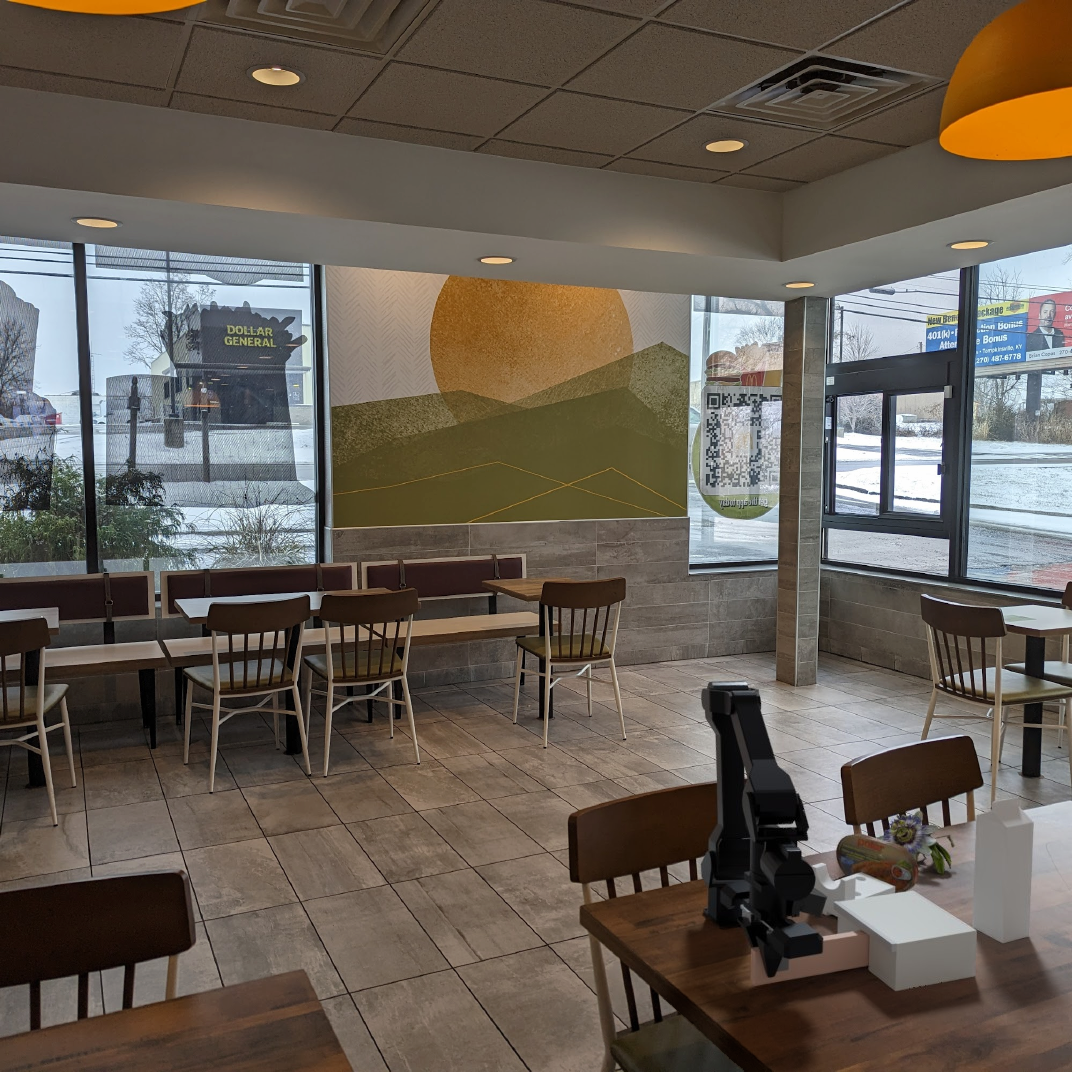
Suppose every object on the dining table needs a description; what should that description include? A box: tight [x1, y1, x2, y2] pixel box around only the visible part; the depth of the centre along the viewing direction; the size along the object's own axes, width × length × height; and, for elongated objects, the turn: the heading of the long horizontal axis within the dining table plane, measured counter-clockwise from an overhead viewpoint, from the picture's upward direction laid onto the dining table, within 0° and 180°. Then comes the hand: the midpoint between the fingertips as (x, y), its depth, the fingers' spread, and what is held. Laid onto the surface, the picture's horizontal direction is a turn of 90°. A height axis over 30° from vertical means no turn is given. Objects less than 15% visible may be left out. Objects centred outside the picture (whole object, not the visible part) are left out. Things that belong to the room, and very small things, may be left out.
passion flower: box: [876, 809, 956, 875], centre depth 182 cm, size 11×11×12 cm
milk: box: [971, 796, 1034, 944], centre depth 154 cm, size 6×6×22 cm
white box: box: [834, 890, 978, 992], centre depth 146 cm, size 15×14×7 cm
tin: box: [835, 833, 919, 893], centre depth 172 cm, size 15×3×8 cm, turn 41°
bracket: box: [811, 862, 895, 918], centre depth 164 cm, size 13×7×8 cm, turn 123°
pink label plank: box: [750, 930, 870, 986], centre depth 141 cm, size 22×1×5 cm, turn 107°
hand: (768, 974), depth 139 cm, fingers closed on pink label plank
